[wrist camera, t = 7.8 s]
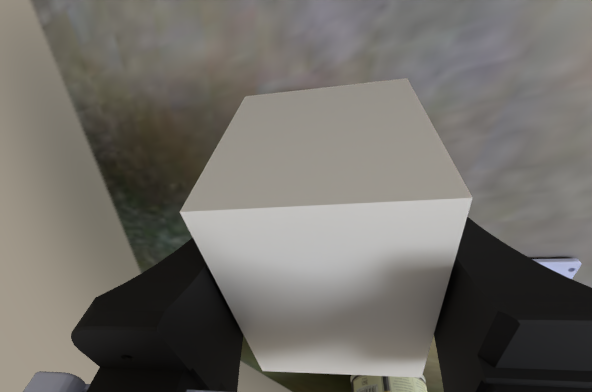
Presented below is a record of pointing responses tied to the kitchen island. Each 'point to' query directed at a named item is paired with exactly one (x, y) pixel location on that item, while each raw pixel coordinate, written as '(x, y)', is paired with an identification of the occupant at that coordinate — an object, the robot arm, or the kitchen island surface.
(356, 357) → the white rectangular prism
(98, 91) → the kitchen island surface
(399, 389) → the coffee can
